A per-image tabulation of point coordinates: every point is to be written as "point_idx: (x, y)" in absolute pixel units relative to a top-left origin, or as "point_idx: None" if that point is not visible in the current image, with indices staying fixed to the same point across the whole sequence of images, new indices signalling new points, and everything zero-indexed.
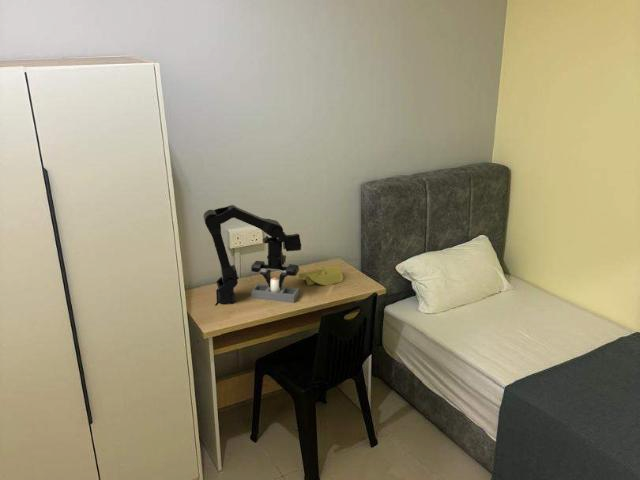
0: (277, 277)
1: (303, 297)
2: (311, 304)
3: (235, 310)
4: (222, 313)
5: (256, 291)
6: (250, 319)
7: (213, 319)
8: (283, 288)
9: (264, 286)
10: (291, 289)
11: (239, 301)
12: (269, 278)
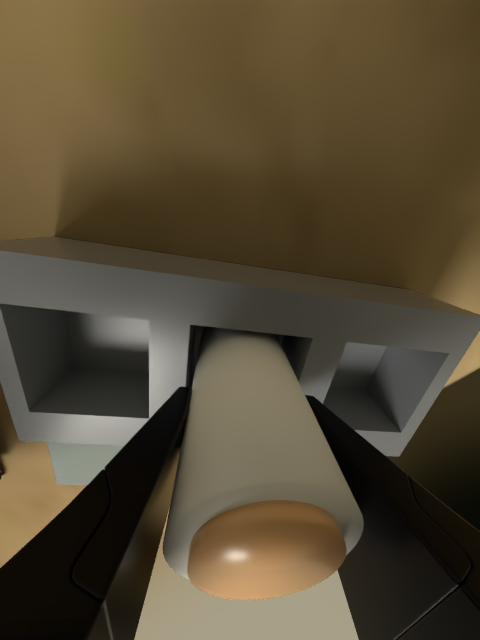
0: (316, 548)
1: (440, 290)
2: (460, 377)
3: (52, 489)
4: (6, 518)
5: (72, 439)
6: (163, 530)
7: (4, 554)
8: (325, 344)
9: (97, 312)
10: (403, 346)
11: (5, 407)
12: (146, 554)
